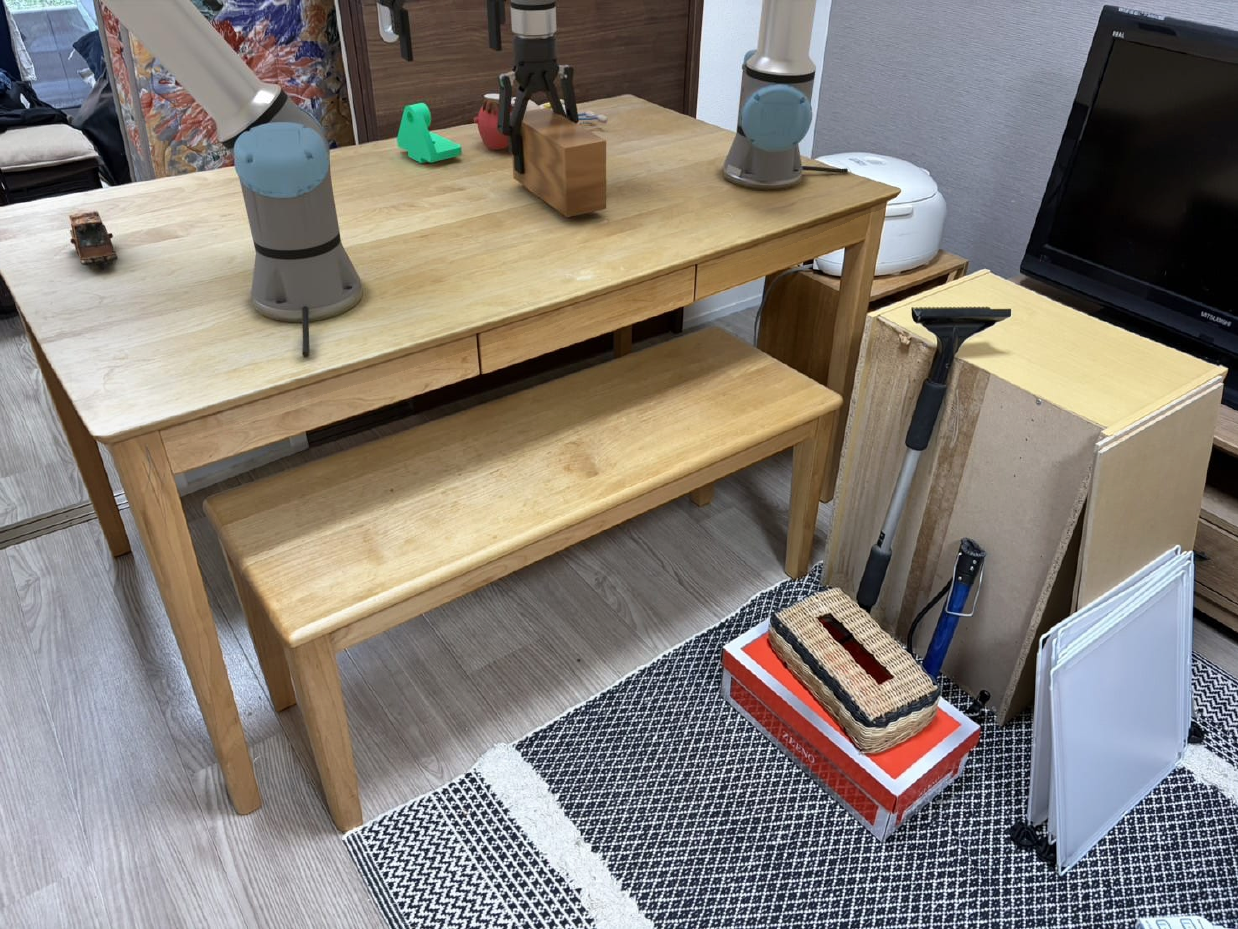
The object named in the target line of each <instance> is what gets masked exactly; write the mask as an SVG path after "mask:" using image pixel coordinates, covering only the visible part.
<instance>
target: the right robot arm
mask: <svg viewBox="0 0 1238 929" xmlns="http://www.w3.org/2000/svg"><path fill="white" fill-rule="evenodd" d="M509 3H510V19H511V31H512V33H513V34H514V35H513V36H512V39H511V40H512V56H513V62H514V63H513V67H512V70H511V71H509V72H505V73H502V72H499V73H498V74H497V82H498V85H499V93H498V94H499V107H498V121H497V131H498V132H500V133H501V134H503V135H505V136H506V135H507V136H508V145H509V147H508V152H509V154H510V155H511V156H512V155H514V170H515V171H517V172H518V173H520V174H524V156H523V139H522V137H521V136H520V135H518V134H519V131H520V128H521V121H523V118H524V114H525V111H526V108H527V104H528V101H529V100H532V99H531V98H532V96H533V94H537V93H539V92H540V93H541V92H542V93H545V96H546V98H547V101H548V103H550V105H551V107H552V110H553V112H555V113H557V114H559V115H562V116H564V117H565V118H567V119H569V120H571V121H572V122H574V123H576V124H578V123H579V121H580V120H579V118H580V117H579V116H578V114H579V112H578V106H577V100H576V94H575V88H574V82H573V80H574V75H575V74H574V72H575V69H574V67H572V66H570V65H568V64H567V63H564V64H561V65H560V64H559V63H558V59H557V57H558V37H557V35H556V34H555V33H556V32H557V8H556V5H557V4H556V0H510V1H509ZM816 7H817V0H762V4H761V13H760V20H759V29H758V37H757V39H758V40H757V48H756V49H750V50H748V51H747V52H745V54H744V58H743V63H742V65H741V70H742V71H741V72H742V73H741V74H742V75H741V82H740V92H739V103H738V112H737V123H736V131H735V132H736V133H735V137H734V139H733V141H732V144H731V146H730V148H729V151H728V153H727V155H726V158H725V160H724V162H723V170H722V175H723V178H725V180H727V181H728V182H729V183H731V184H733V185H736V186H739V187H742V188H746V189H752V190H759V191H778V190H786V189H790V188H794V187H796V186H797V185H799V184H800V183H801V182H802V180H803V179H802V178H803V172H804V171H808V172H809V171H811V172H822V173H823V172H824V173H835V174H845V173H848V171H849V169H848V168H847V167H845V168H834V167H825V166H824V167H823V166H810V165H803V163H802V158H801V152H800V146H799V143H801V142H802V140H803V139H805V137H806V136H807V134H808V132H809V130H810V128H811V124H812V120H813V108H812V99H813V98H812V97H813V91H814V83H815V78H816V72H817V65H816V63H815V62H814V61H813V60H812V59H811V57H810V49H811V41H812V33H813V28H814V21H815V12H816ZM557 76H558V77H559V78H560V87H561V93H562V98H563V100H564V104H565V110H566V113H565V111H564V108H563V106H562V104H561V101H560V99H561V98H560V97H559V94H558V89H557V87H556V85H555V83H554V82H555V80H556V78H557ZM515 80H516V81H517V83H518V85H517V88H516V96H515V97H516V100H515V103H514V106H513V110H512V113H511V117H510V111H511V99H512V98H513V88H512V87H513V86H514V81H515Z"/></svg>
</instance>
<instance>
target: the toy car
mask: <svg viewBox="0 0 1238 929" xmlns="http://www.w3.org/2000/svg"><path fill="white" fill-rule="evenodd" d="M68 217H69V219H70V227H71V229H69V233H70V236H71V238H70V243H71V244H72V245H73V246H74V248H75V251H76V254H77V255H78V258H79V260H80V264H81V265H82V266H86V267H91V266H94V265H97V266H98V268H99V270H100V271H102V272H104V271H105V265H104V264H112V263H113V262H114V261H117V260H118V255H117V251H116V250H114V244H113V242H112V240H111V239H112V238H114V235H113V233H112V232H110V233H109V232H108V230H107V228H106V225H105V224H104V223H103V220H102V219H101V218H102V217H101V216H100V213H99V211H95V210H93V211H87V212H83V213H82V212H81V213H74V214H69V215H68Z"/></svg>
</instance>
